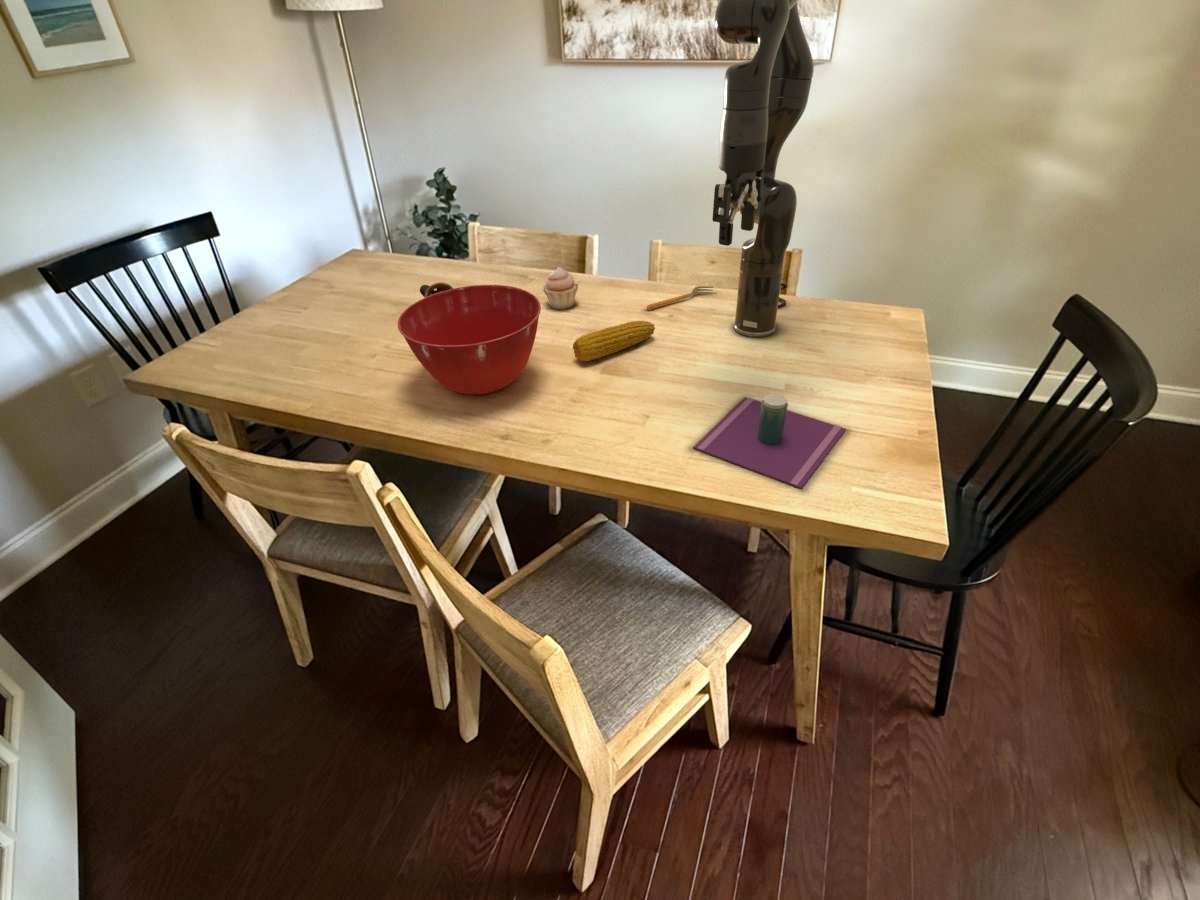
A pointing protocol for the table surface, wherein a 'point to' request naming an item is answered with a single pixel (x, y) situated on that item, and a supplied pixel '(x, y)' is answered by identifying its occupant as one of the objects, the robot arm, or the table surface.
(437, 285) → the pottery mug
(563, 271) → the cupcake
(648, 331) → the food
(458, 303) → the mixing bowl
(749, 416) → the napkin
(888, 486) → the table surface
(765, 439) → the salt shaker
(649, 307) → the fork
